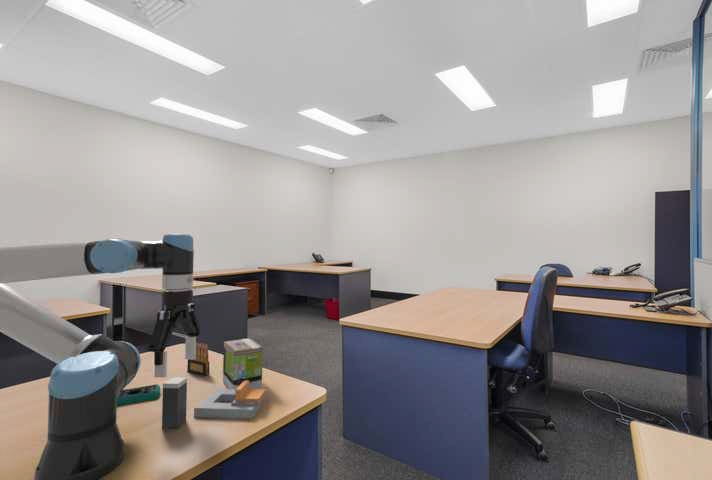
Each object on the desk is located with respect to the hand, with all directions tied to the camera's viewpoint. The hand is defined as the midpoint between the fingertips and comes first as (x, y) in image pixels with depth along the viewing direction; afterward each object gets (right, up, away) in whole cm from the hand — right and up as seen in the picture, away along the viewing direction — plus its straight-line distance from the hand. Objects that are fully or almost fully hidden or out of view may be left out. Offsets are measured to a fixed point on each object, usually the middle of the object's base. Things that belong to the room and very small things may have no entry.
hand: (176, 367), depth 90 cm
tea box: (+9, -17, +26) cm, 32 cm away
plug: (0, -16, -1) cm, 16 cm away
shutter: (+17, -13, +10) cm, 24 cm away
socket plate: (+12, -16, +10) cm, 22 cm away
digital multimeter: (-23, -17, +15) cm, 32 cm away
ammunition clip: (-12, -17, +37) cm, 42 cm away
